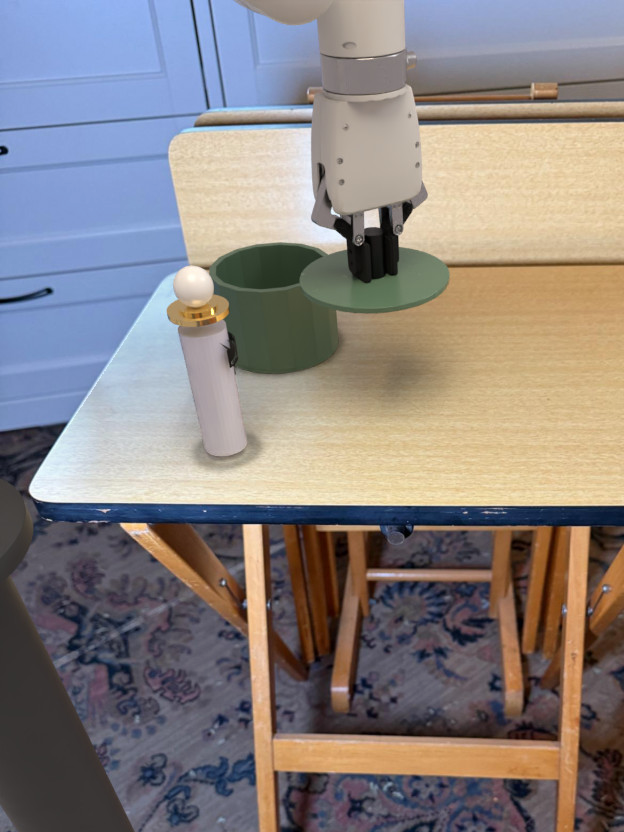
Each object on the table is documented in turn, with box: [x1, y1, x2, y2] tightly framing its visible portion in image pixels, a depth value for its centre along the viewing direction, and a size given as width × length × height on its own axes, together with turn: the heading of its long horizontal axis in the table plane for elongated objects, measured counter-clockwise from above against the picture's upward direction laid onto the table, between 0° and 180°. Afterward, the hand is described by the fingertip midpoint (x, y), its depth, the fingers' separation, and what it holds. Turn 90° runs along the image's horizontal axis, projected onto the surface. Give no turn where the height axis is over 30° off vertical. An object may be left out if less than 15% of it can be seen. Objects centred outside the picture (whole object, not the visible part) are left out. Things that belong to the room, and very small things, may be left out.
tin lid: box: [300, 226, 451, 315], centre depth 81 cm, size 16×16×6 cm
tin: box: [208, 241, 340, 375], centre depth 99 cm, size 15×15×10 cm
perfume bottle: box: [166, 264, 248, 457], centre depth 78 cm, size 6×6×20 cm
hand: (374, 273), depth 82 cm, fingers closed on tin lid, 2 cm apart
